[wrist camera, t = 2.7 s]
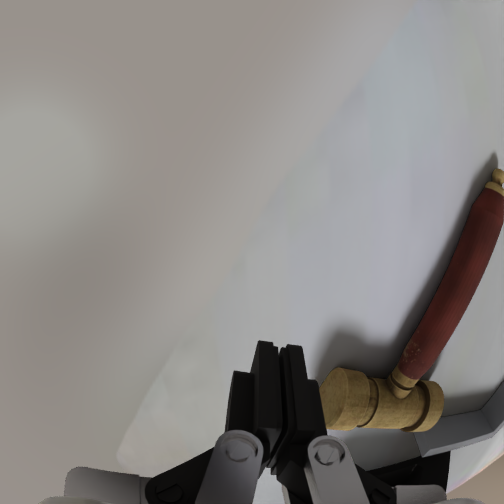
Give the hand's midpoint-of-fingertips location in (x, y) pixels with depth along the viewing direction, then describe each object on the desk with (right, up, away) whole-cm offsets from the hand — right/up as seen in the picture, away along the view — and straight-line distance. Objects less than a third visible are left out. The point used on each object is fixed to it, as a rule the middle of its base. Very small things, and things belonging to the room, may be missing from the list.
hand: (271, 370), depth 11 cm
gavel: (+12, +1, +7) cm, 14 cm away
